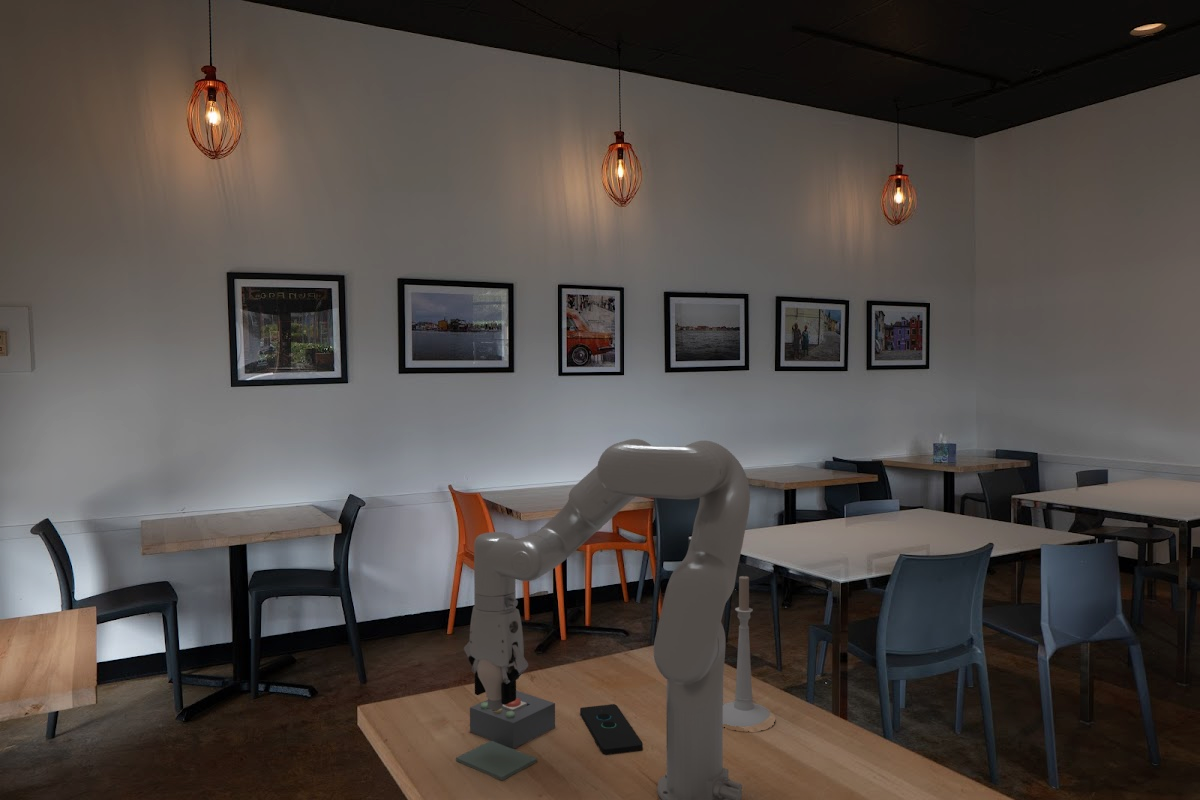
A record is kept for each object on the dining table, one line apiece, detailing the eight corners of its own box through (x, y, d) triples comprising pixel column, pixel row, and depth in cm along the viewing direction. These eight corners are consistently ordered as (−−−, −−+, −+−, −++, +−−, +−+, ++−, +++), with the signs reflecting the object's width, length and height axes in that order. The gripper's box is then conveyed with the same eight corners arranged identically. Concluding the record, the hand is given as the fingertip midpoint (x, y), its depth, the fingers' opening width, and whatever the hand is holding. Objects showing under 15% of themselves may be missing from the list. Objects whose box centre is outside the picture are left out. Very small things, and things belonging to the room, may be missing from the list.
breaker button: (526, 717, 167) (526, 700, 167) (512, 724, 164) (512, 706, 164) (512, 712, 170) (512, 695, 170) (498, 719, 167) (498, 701, 166)
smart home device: (616, 702, 177) (644, 743, 158) (616, 710, 177) (644, 752, 158) (578, 707, 175) (602, 748, 156) (578, 715, 175) (602, 758, 156)
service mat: (536, 761, 153) (536, 758, 153) (502, 780, 146) (502, 777, 146) (491, 743, 161) (491, 740, 161) (456, 760, 154) (456, 757, 154)
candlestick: (699, 718, 172) (699, 574, 171) (739, 701, 181) (739, 564, 180) (748, 738, 163) (749, 586, 162) (788, 720, 171) (788, 575, 170)
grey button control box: (555, 727, 168) (555, 699, 168) (513, 748, 158) (513, 718, 158) (512, 712, 175) (512, 685, 175) (470, 732, 166) (469, 703, 166)
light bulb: (506, 719, 149) (506, 658, 149) (472, 716, 151) (471, 656, 150) (517, 705, 156) (517, 646, 156) (484, 702, 157) (484, 644, 157)
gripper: (543, 604, 150) (543, 702, 151) (477, 588, 161) (477, 680, 161) (514, 614, 144) (514, 716, 145) (447, 597, 155) (448, 692, 156)
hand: (495, 696), depth 153 cm, fingers closed on light bulb, 6 cm apart
